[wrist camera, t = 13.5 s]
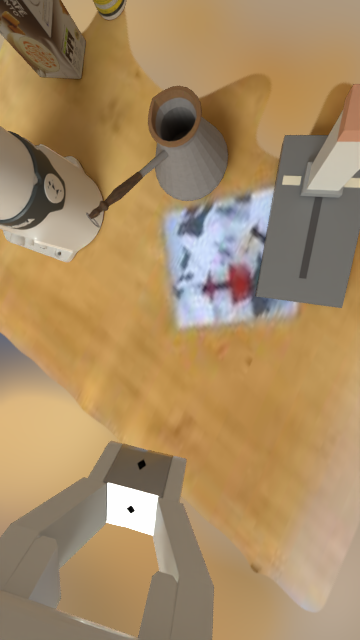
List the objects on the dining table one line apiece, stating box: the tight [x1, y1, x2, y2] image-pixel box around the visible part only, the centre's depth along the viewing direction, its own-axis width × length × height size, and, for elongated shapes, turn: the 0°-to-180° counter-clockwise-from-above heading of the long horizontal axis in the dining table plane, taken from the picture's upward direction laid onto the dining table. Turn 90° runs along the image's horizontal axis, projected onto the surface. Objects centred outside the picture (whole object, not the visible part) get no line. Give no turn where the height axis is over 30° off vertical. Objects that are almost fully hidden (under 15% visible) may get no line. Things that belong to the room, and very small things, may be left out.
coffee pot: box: [86, 86, 228, 228], centre depth 34 cm, size 21×12×15 cm, turn 138°
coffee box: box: [0, 0, 86, 79], centre depth 36 cm, size 9×6×16 cm
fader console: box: [255, 135, 360, 308], centre depth 36 cm, size 12×23×3 cm, turn 173°
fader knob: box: [300, 84, 360, 198], centre depth 27 cm, size 5×4×14 cm
